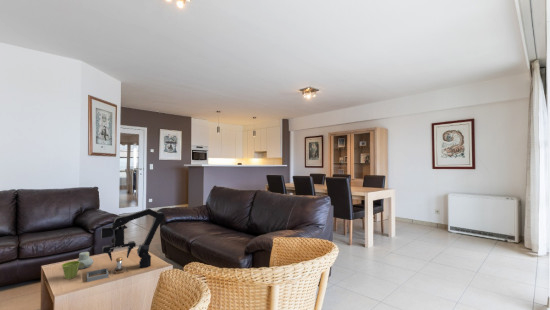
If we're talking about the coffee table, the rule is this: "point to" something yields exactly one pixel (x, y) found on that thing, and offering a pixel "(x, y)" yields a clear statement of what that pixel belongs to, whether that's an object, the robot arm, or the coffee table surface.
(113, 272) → the tensioner block
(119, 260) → the lock pin
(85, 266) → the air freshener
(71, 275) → the plant pot
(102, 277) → the tray
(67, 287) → the coffee table surface
